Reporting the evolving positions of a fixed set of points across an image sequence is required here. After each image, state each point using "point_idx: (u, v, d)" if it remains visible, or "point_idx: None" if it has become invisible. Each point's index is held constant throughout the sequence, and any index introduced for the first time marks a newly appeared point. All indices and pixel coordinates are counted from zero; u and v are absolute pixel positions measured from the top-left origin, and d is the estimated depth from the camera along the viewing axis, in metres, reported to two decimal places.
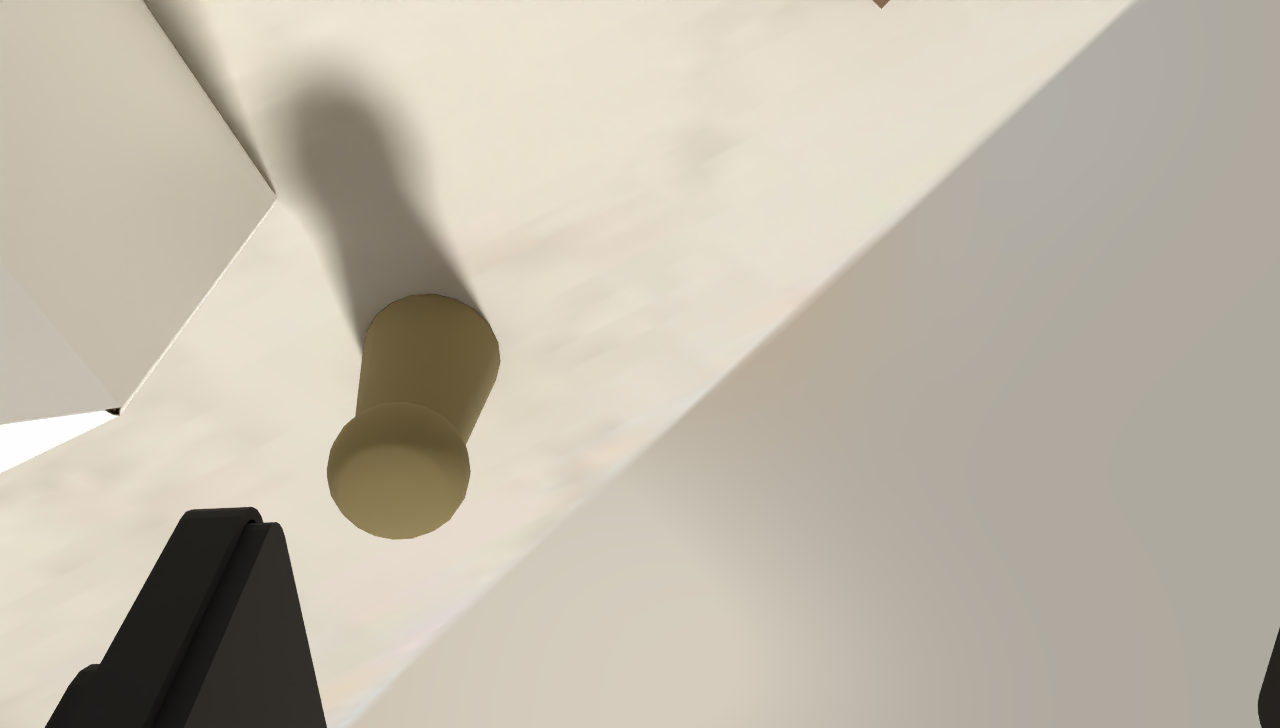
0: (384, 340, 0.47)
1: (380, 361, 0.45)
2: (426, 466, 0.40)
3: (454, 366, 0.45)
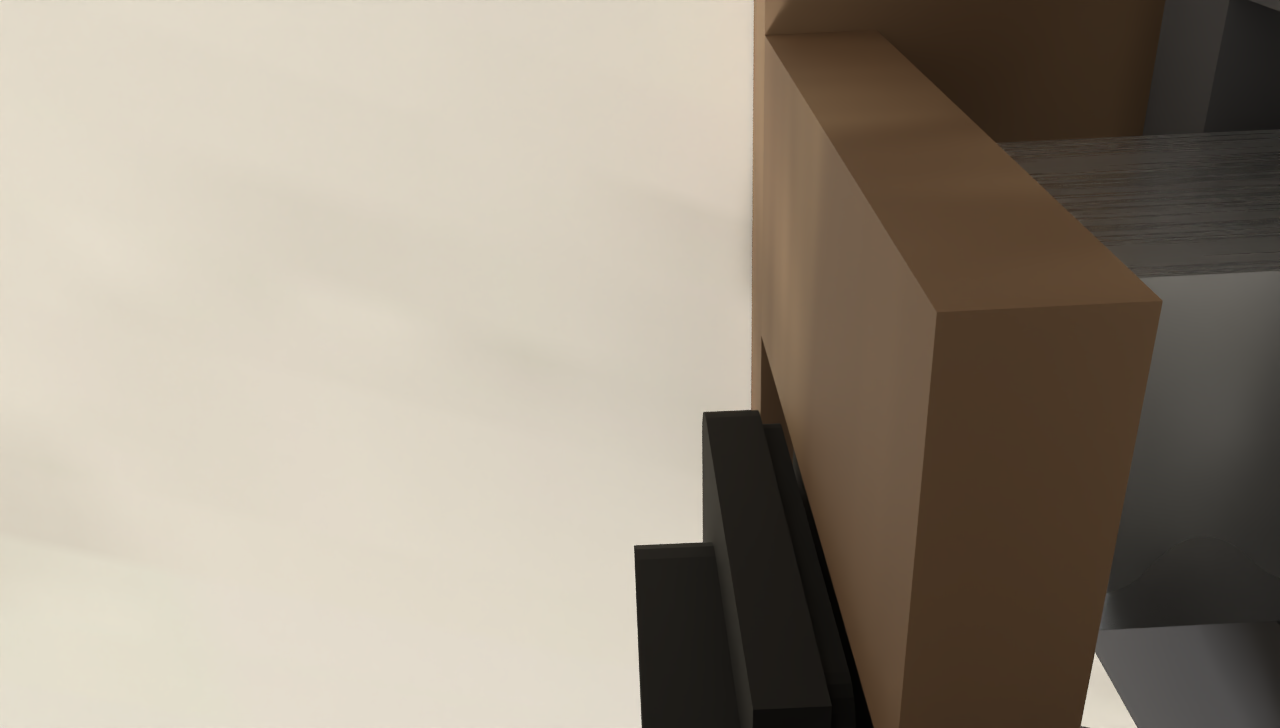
0: None
1: None
2: None
3: None
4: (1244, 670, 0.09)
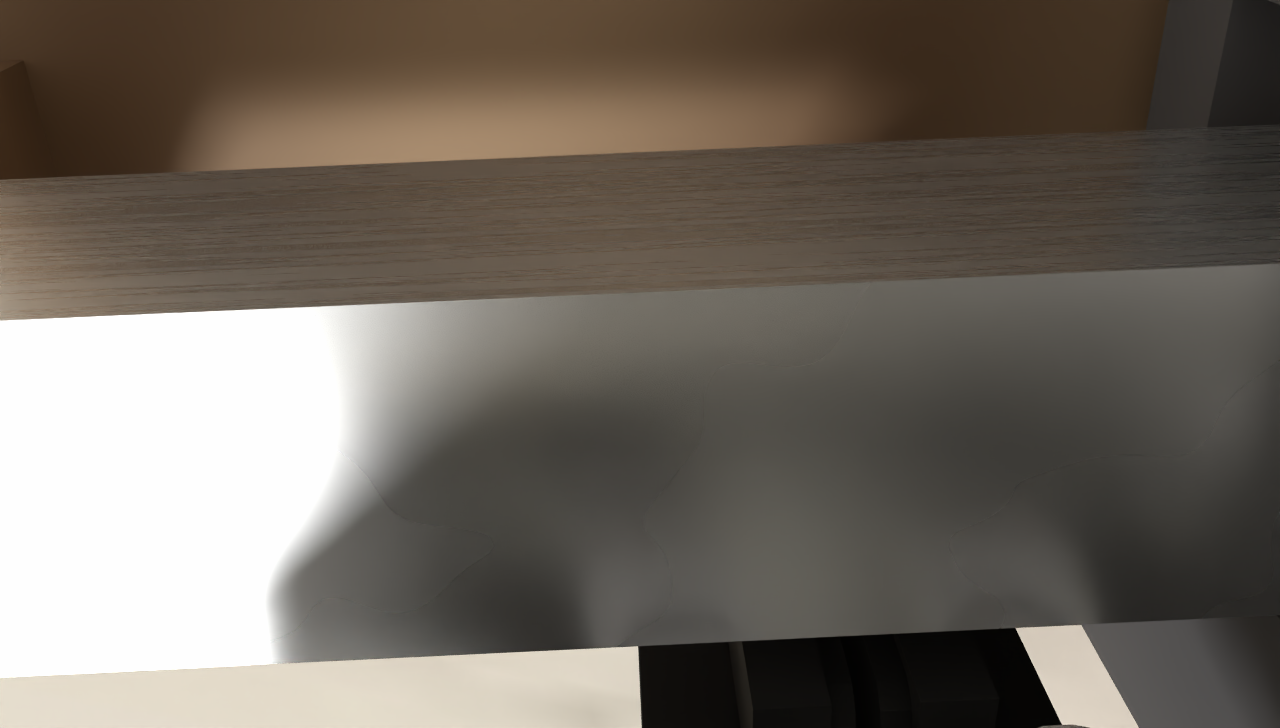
0: None
1: None
2: None
3: None
4: (1246, 667, 0.09)
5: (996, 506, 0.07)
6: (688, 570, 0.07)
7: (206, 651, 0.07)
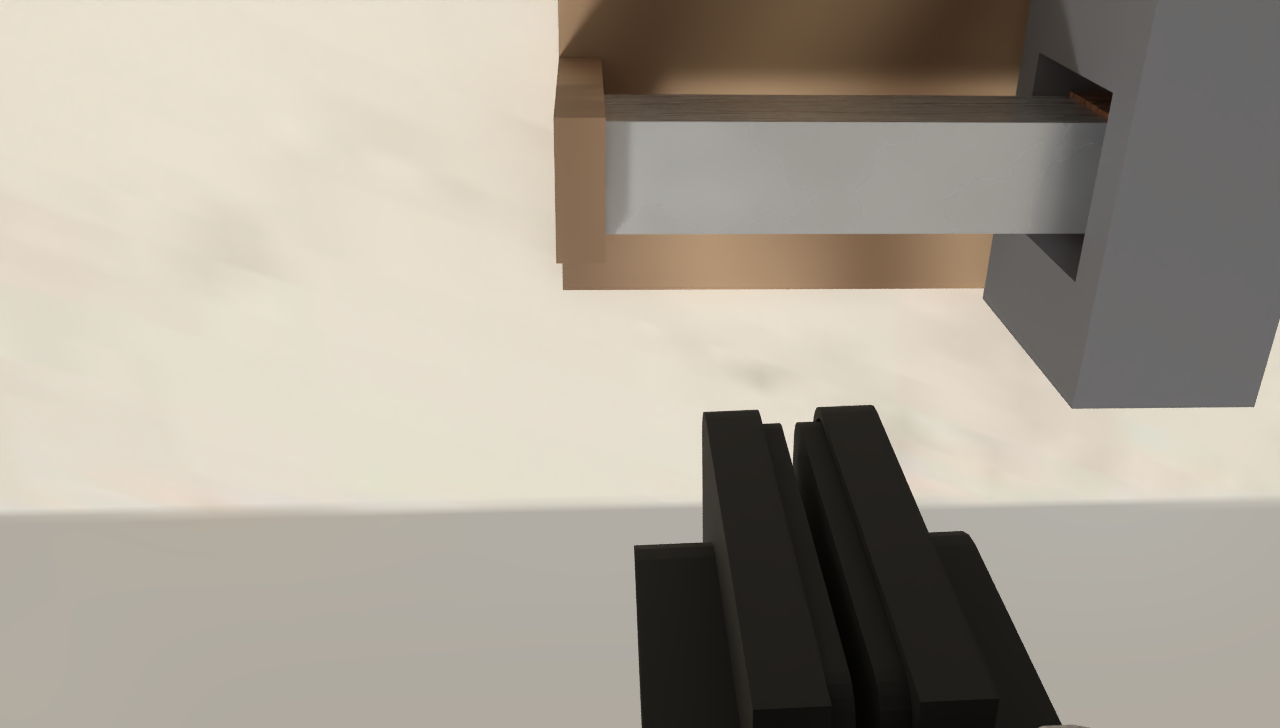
0: None
1: None
2: None
3: None
4: (1038, 277, 0.26)
5: (953, 191, 0.24)
6: (866, 208, 0.24)
7: (726, 228, 0.24)
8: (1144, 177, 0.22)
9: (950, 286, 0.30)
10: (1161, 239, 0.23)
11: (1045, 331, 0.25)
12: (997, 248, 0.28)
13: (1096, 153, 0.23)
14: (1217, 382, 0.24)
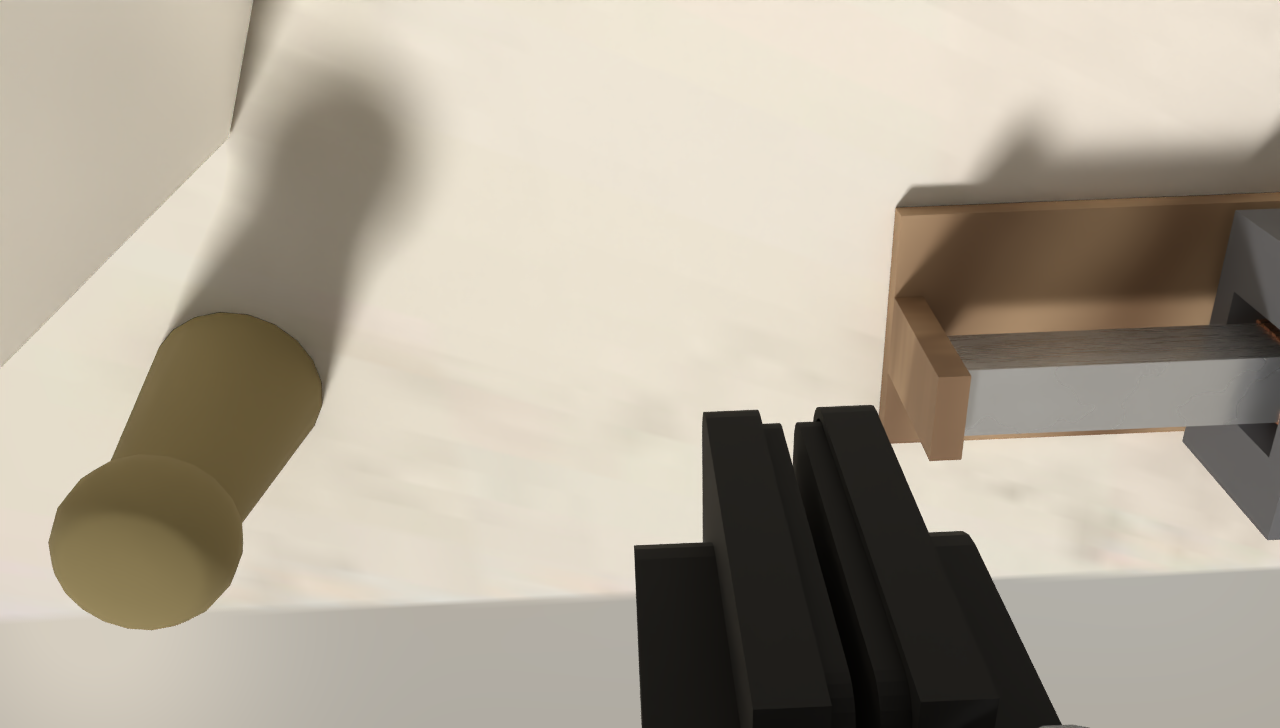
0: (218, 360, 0.37)
1: (204, 388, 0.36)
2: (193, 576, 0.32)
3: (274, 449, 0.37)
4: (1236, 444, 0.38)
5: (1186, 401, 0.36)
6: (1128, 413, 0.36)
7: (1034, 429, 0.36)
8: None
9: (1156, 430, 0.42)
10: None
11: (1243, 482, 0.38)
12: None
13: None
14: None
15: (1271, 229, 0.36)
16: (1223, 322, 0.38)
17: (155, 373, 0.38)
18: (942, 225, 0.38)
